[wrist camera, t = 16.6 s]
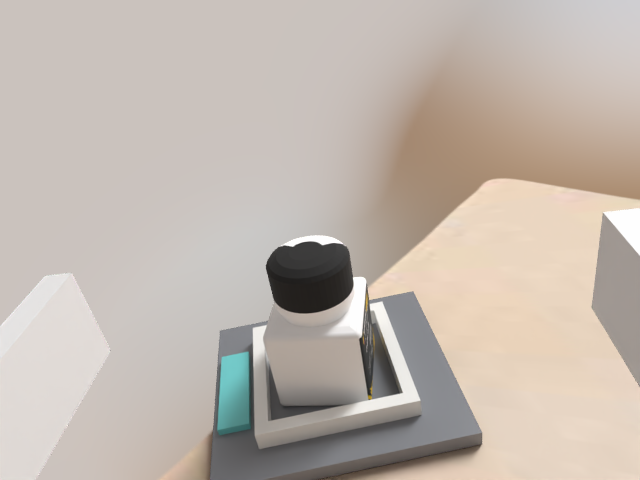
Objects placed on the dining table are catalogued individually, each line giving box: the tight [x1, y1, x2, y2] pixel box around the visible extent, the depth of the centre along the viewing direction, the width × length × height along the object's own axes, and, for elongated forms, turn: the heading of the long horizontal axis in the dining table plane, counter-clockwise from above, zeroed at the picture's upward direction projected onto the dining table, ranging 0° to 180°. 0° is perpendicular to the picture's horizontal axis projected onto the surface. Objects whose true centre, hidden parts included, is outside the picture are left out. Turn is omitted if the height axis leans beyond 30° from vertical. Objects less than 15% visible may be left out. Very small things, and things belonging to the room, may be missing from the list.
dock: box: [210, 291, 482, 480], centre depth 43 cm, size 19×17×3 cm
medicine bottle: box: [263, 236, 375, 406], centre depth 40 cm, size 7×7×12 cm
